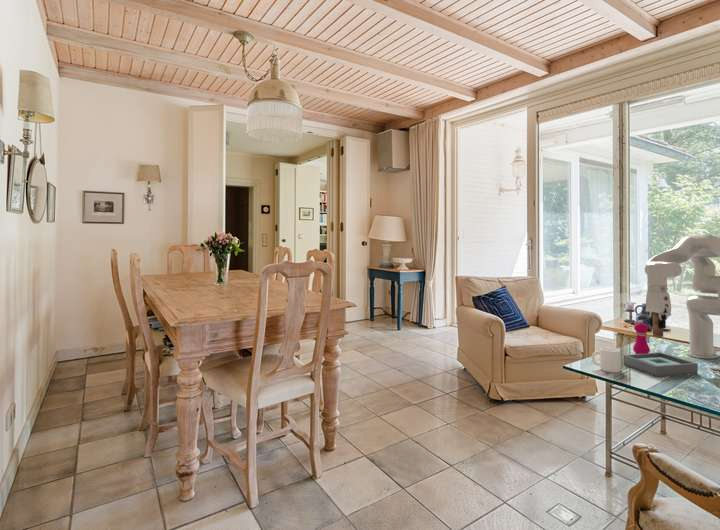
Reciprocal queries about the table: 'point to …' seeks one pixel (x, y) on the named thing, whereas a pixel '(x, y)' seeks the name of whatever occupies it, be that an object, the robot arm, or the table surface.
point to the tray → (662, 368)
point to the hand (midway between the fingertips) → (657, 326)
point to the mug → (608, 359)
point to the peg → (656, 326)
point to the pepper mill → (641, 338)
